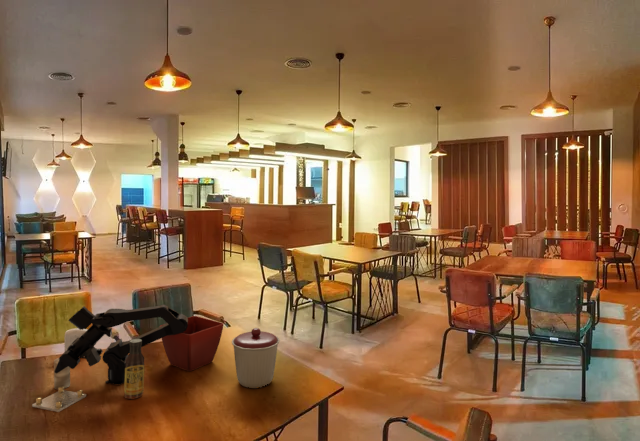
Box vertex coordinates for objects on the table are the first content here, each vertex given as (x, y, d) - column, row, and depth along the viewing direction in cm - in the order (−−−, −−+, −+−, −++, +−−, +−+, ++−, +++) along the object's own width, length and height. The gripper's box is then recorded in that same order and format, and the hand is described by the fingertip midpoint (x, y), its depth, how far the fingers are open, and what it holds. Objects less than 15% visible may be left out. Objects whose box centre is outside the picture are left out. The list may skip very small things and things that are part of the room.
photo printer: (92, 354, 181) (92, 326, 180) (88, 357, 176) (88, 329, 176) (67, 354, 179) (67, 327, 179) (62, 358, 175) (62, 330, 174)
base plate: (86, 396, 143) (86, 389, 143) (58, 412, 132) (58, 404, 132) (61, 391, 146) (61, 385, 146) (32, 406, 135) (32, 399, 135)
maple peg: (73, 384, 152) (73, 357, 151) (61, 390, 147) (61, 363, 146) (62, 382, 153) (62, 356, 153) (50, 388, 148) (50, 361, 148)
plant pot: (224, 361, 176) (224, 322, 175) (188, 377, 160) (188, 334, 159) (194, 351, 186) (194, 315, 185) (158, 365, 170) (158, 325, 169)
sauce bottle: (124, 401, 140) (124, 345, 139) (123, 393, 145) (123, 339, 144) (145, 397, 143) (145, 342, 142) (143, 390, 148) (143, 336, 147)
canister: (242, 370, 167) (242, 319, 166) (284, 374, 163) (285, 323, 162) (223, 390, 149) (223, 333, 148) (270, 396, 146) (271, 338, 145)
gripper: (102, 360, 145) (67, 394, 142) (113, 342, 163) (82, 372, 160) (76, 340, 142) (41, 375, 140) (90, 324, 160) (59, 354, 157)
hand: (57, 369), depth 149 cm, fingers closed on maple peg, 5 cm apart
